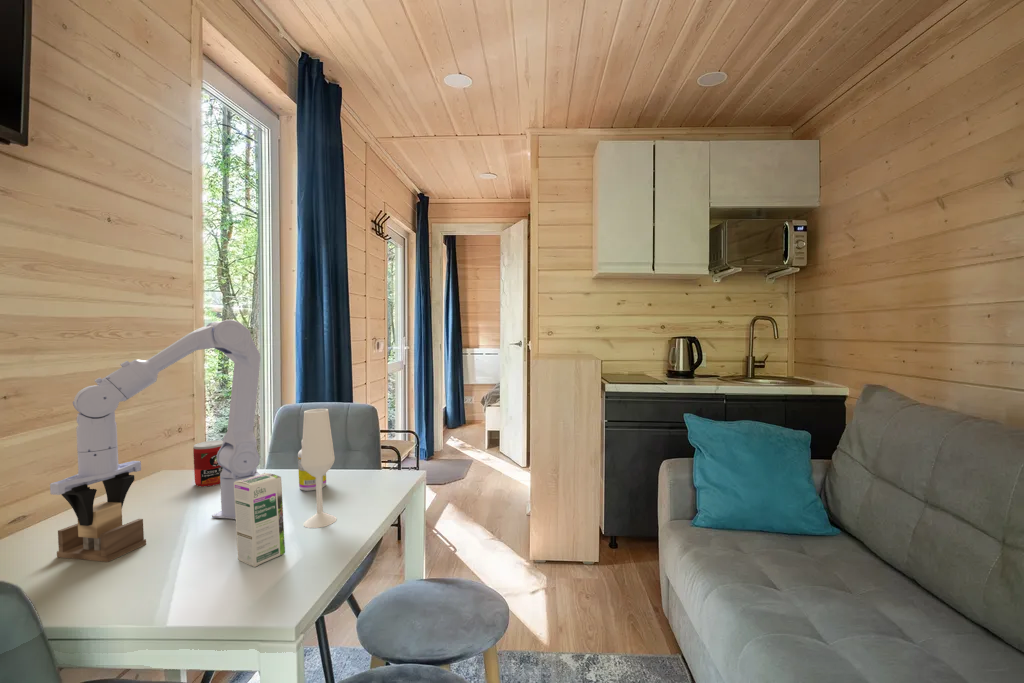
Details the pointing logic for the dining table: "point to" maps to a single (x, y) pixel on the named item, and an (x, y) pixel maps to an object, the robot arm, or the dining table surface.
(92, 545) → the stand
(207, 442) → the canned food
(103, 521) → the light wooden block
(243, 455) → the robot arm
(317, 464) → the champagne flute
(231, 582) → the dining table surface
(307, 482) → the supplement bottle
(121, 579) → the dining table surface
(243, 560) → the syrup box
